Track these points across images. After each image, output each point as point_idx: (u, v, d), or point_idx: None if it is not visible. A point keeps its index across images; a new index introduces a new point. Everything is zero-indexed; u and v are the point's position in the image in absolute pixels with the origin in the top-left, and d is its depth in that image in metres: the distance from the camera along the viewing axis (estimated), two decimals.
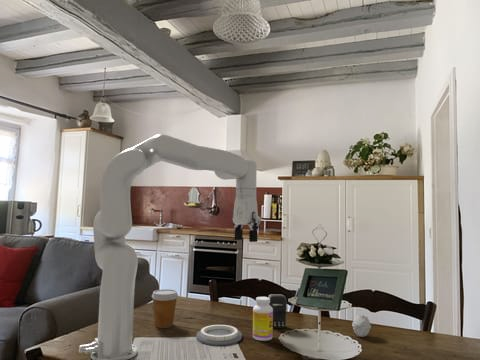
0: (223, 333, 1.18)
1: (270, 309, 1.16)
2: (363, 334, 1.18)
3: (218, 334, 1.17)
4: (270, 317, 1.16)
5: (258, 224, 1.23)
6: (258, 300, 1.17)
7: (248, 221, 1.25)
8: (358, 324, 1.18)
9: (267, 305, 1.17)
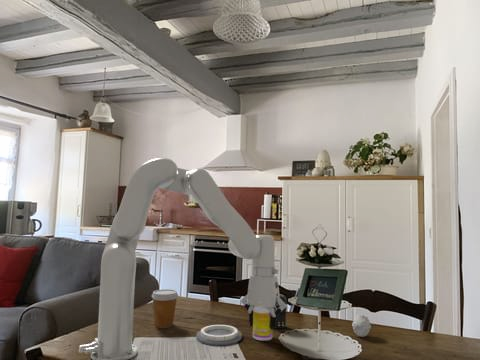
0: (223, 333, 1.18)
1: None
2: (363, 334, 1.18)
3: (218, 334, 1.17)
4: (270, 317, 1.16)
5: None
6: None
7: None
8: (358, 324, 1.18)
9: None
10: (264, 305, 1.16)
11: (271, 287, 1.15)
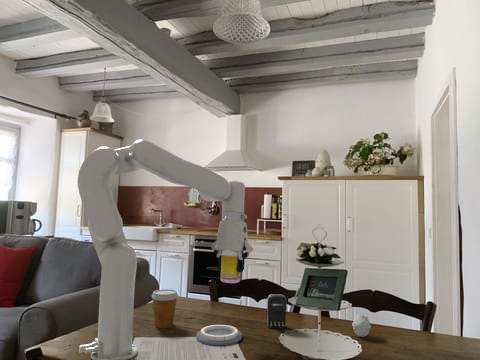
0: (223, 333, 1.18)
1: None
2: (363, 334, 1.18)
3: (218, 334, 1.17)
4: None
5: None
6: None
7: None
8: (358, 324, 1.18)
9: None
10: (232, 248, 1.18)
11: (239, 231, 1.17)
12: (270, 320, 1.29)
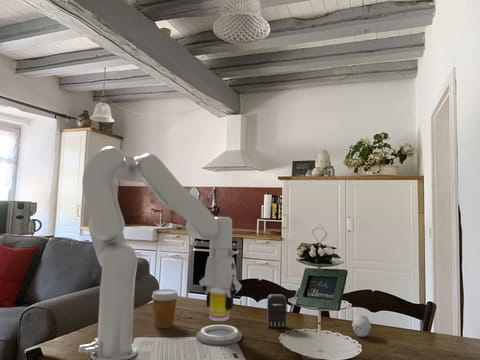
0: (223, 333, 1.18)
1: None
2: (363, 334, 1.18)
3: (218, 334, 1.17)
4: None
5: None
6: None
7: None
8: (358, 324, 1.18)
9: None
10: (220, 286, 1.16)
11: (227, 268, 1.16)
12: (270, 320, 1.29)
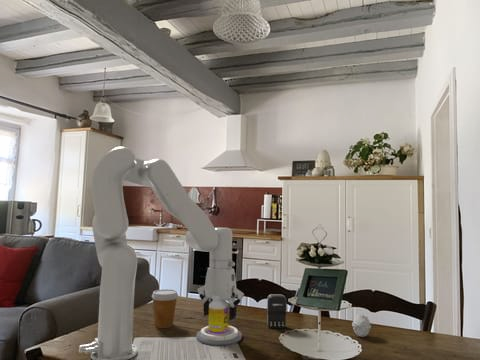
0: None
1: (225, 305, 1.16)
2: (363, 334, 1.18)
3: None
4: (225, 313, 1.16)
5: None
6: (213, 296, 1.17)
7: None
8: (358, 324, 1.18)
9: (222, 301, 1.17)
10: (220, 297, 1.16)
11: (227, 279, 1.16)
12: (270, 320, 1.29)
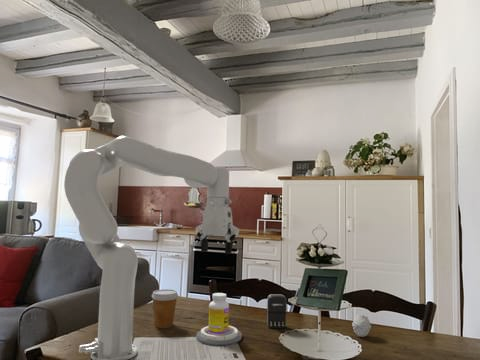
0: None
1: (225, 305, 1.16)
2: (363, 334, 1.18)
3: None
4: (225, 313, 1.16)
5: None
6: (214, 296, 1.17)
7: None
8: (358, 324, 1.18)
9: (223, 301, 1.17)
10: (217, 233, 1.20)
11: (223, 215, 1.19)
12: (270, 320, 1.29)
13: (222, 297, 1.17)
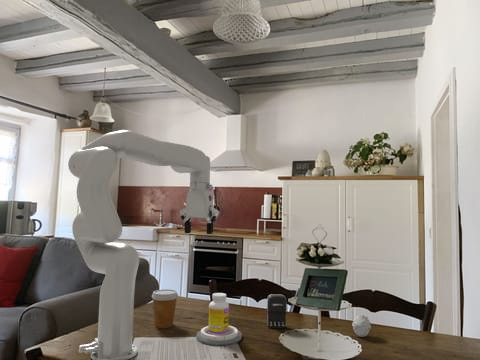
0: None
1: (225, 305, 1.16)
2: (363, 334, 1.18)
3: None
4: (225, 313, 1.16)
5: None
6: (214, 296, 1.17)
7: None
8: (358, 324, 1.18)
9: (222, 301, 1.17)
10: (199, 215, 1.31)
11: (205, 199, 1.30)
12: (270, 320, 1.29)
13: (222, 297, 1.17)
